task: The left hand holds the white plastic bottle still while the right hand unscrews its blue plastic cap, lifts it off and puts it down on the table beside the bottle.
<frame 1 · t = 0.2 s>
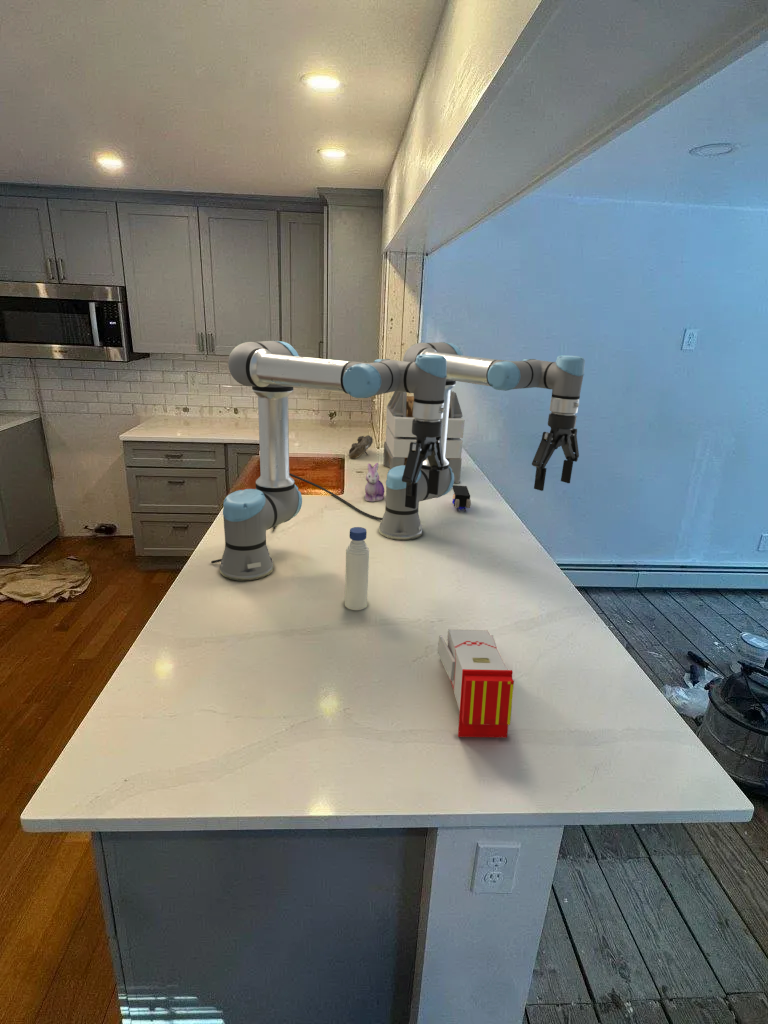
left hand: (421, 500, 148), 28 cm above the counter, tool pointing down, fingers open, 13 cm apart
right hand: (552, 485, 166), 28 cm above the counter, tool pointing down, fingers open, 13 cm apart
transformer: (419, 473, 275), on the counter
cap: (358, 531, 144), point 21 cm above the counter, screwed on, not yet turned
feather: (280, 519, 209), on the counter
figurine: (374, 498, 235), on the counter
figurine character: (460, 507, 229), on the counter
toy: (469, 691, 119), on the counter
bottle: (355, 604, 151), on the counter
fossil: (360, 455, 304), on the counter
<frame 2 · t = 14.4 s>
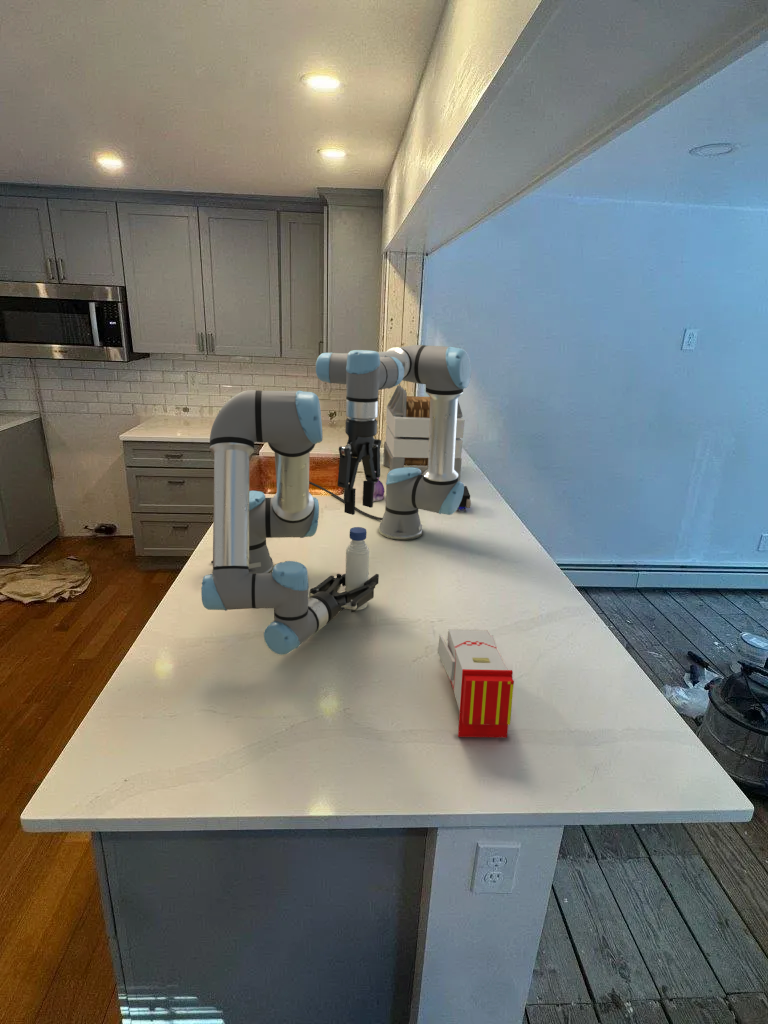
left hand: (366, 575, 153), 7 cm above the counter, tool horizontal, fingers closed on bottle, 6 cm apart
right hand: (358, 509, 142), 27 cm above the counter, tool pointing down, fingers open, 6 cm apart
bottle: (355, 604, 151), on the counter, touching left hand
everything else where it was.
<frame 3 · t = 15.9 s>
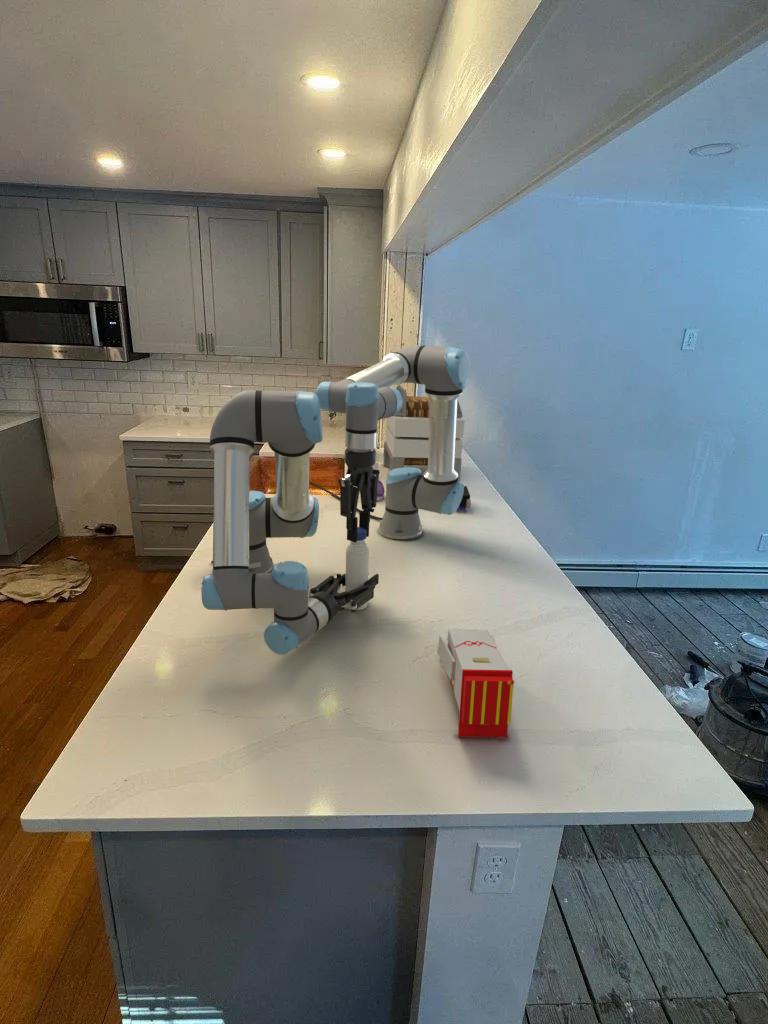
left hand: (366, 575, 153), 6 cm above the counter, tool horizontal, fingers closed on bottle, 6 cm apart
right hand: (357, 537, 145), 19 cm above the counter, tool pointing down, fingers closed on cap, 4 cm apart
cap: (358, 531, 144), point 21 cm above the counter, screwed on, not yet turned, touching right hand
bottle: (355, 604, 151), on the counter, touching left hand
everything else where it was.
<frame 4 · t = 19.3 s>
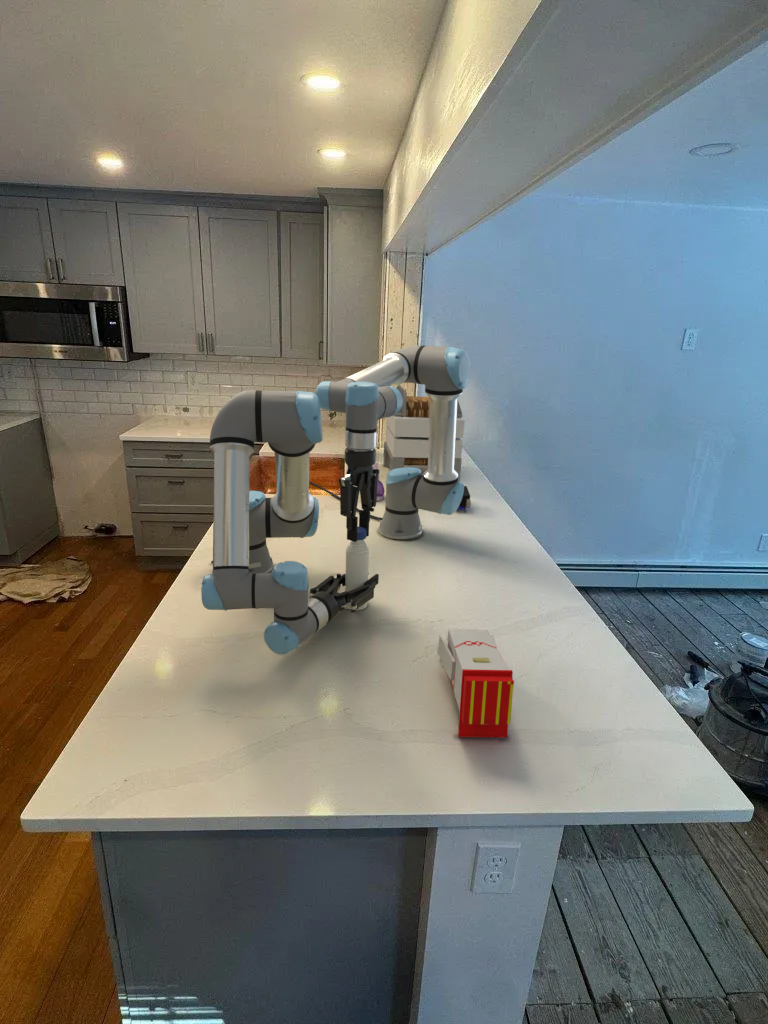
left hand: (366, 575, 153), 6 cm above the counter, tool horizontal, fingers closed on bottle, 6 cm apart
right hand: (357, 537, 145), 19 cm above the counter, tool pointing down, fingers closed on cap, 4 cm apart
cap: (358, 530, 144), point 21 cm above the counter, turned 105° so far, risen 0.1 cm, still on its thread, touching right hand
bottle: (355, 604, 151), on the counter, touching left hand
everything else where it was.
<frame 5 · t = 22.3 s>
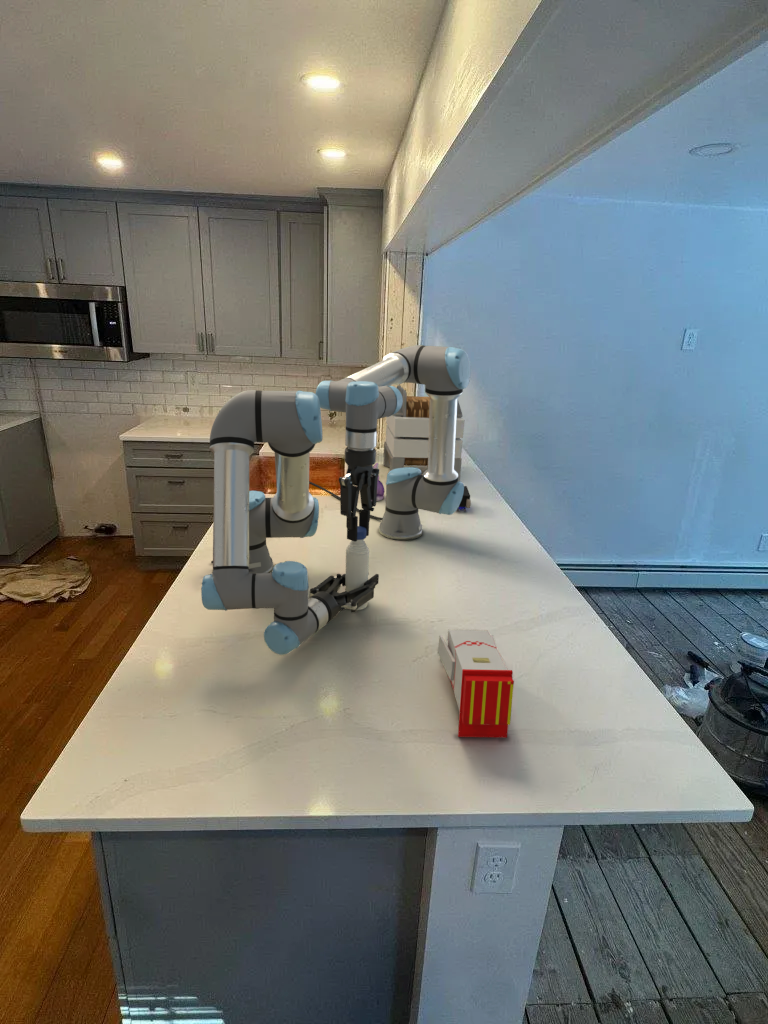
left hand: (366, 575, 153), 6 cm above the counter, tool horizontal, fingers closed on bottle, 6 cm apart
right hand: (357, 536, 145), 20 cm above the counter, tool pointing down, fingers closed on cap, 4 cm apart
cap: (358, 530, 144), point 21 cm above the counter, turned 211° so far, risen 0.3 cm, still on its thread, touching right hand
bottle: (355, 604, 151), on the counter, touching left hand
everything else where it was.
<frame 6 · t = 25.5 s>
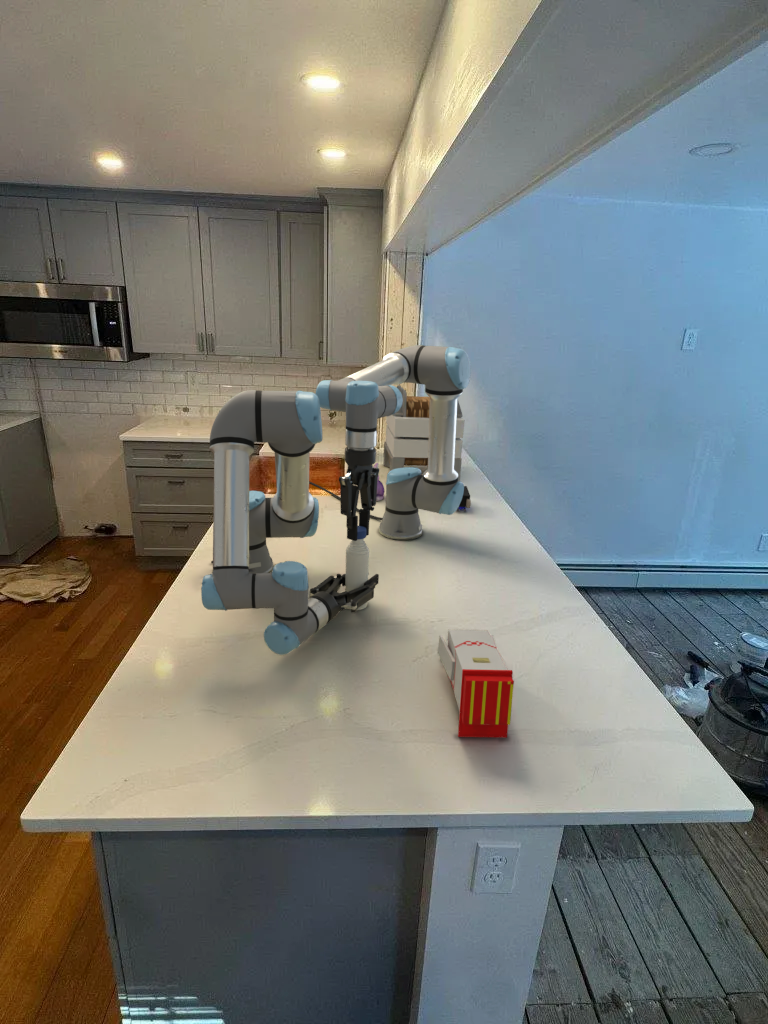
left hand: (366, 575, 153), 6 cm above the counter, tool horizontal, fingers closed on bottle, 6 cm apart
right hand: (357, 536, 145), 20 cm above the counter, tool pointing down, fingers closed on cap, 4 cm apart
cap: (358, 529, 144), point 22 cm above the counter, turned 316° so far, risen 0.4 cm, still on its thread, touching right hand
bottle: (355, 604, 151), on the counter, touching left hand
everything else where it was.
when the right hand's fingers open (1 cm above the counter, at t = 32.5 s): cap drops 1 cm, point 2 cm above the counter.
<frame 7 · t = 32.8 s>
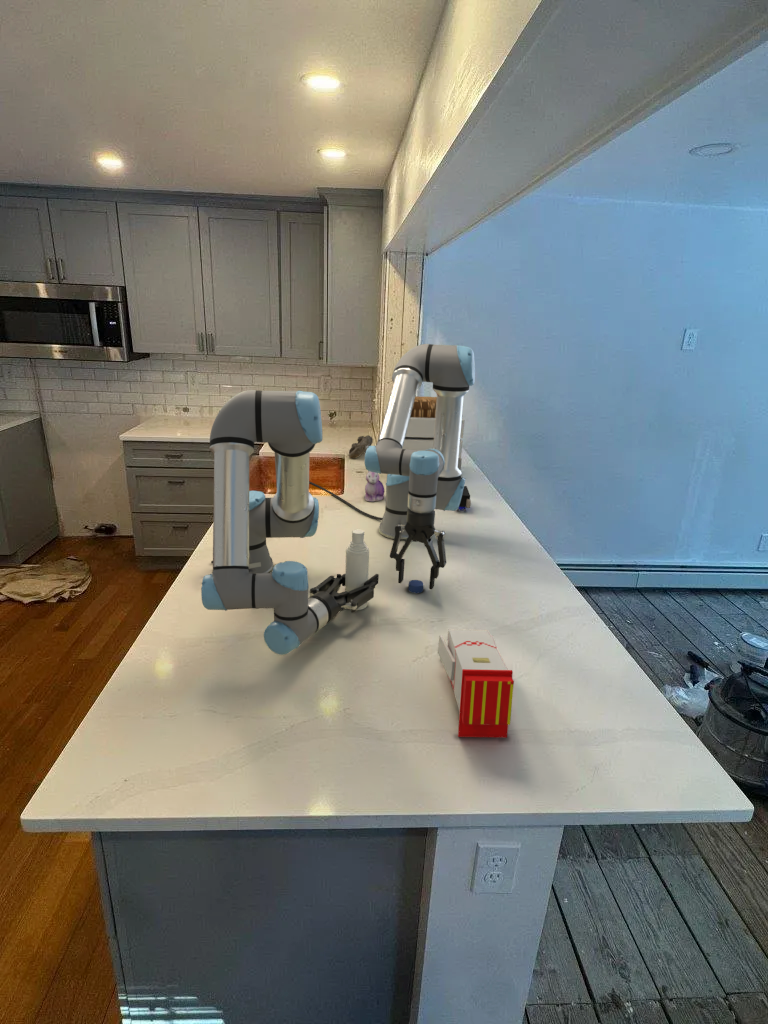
left hand: (366, 575, 153), 7 cm above the counter, tool horizontal, fingers closed on bottle, 6 cm apart
right hand: (416, 584, 160), 2 cm above the counter, tool pointing down, fingers open, 8 cm apart
cap: (416, 584, 160), point 2 cm above the counter, off its thread
bottle: (355, 604, 151), on the counter, touching left hand
everything else where it was.
when the left hand's fingers open (7 cm above the counter, at t = 33.7 s): bottle stays where it is, on the counter.
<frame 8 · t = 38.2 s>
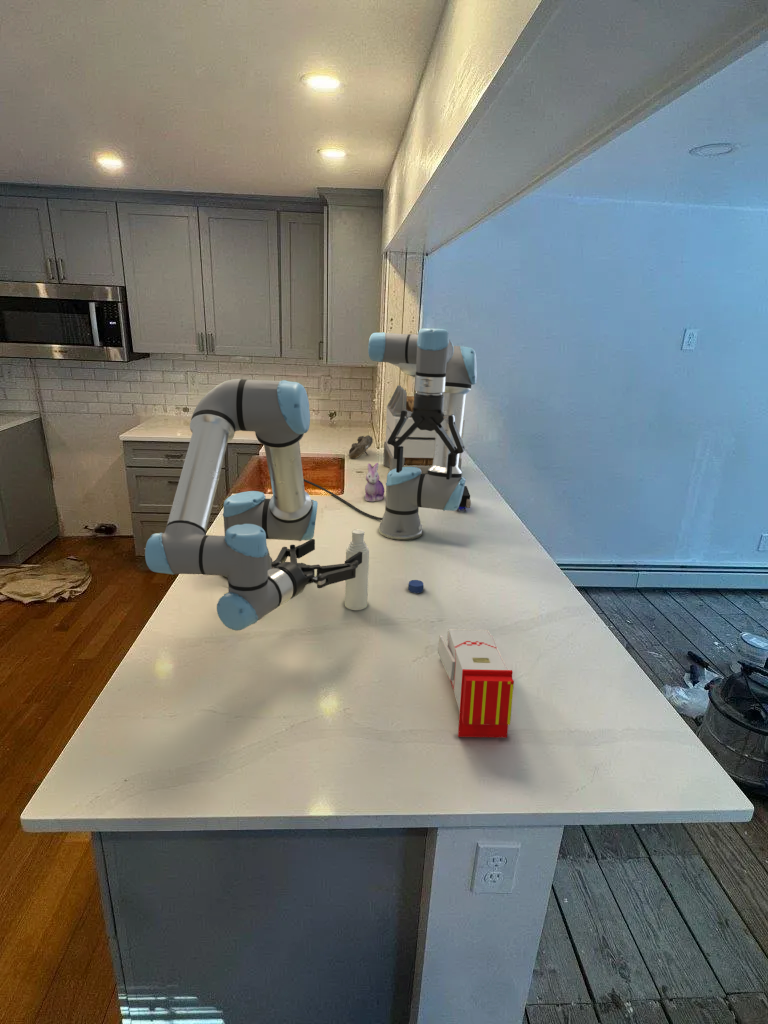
left hand: (336, 550, 137), 19 cm above the counter, tool horizontal, fingers open, 13 cm apart
right hand: (423, 474, 149), 34 cm above the counter, tool pointing down, fingers open, 13 cm apart
bottle: (355, 604, 151), on the counter
everything else where it was.
at the end: cap came off its thread; cap point 1.8 cm above the counter; the left hand is holding nothing; the right hand is holding nothing; bottle tilted 0°; bottle moved 0.0 cm from its start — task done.
